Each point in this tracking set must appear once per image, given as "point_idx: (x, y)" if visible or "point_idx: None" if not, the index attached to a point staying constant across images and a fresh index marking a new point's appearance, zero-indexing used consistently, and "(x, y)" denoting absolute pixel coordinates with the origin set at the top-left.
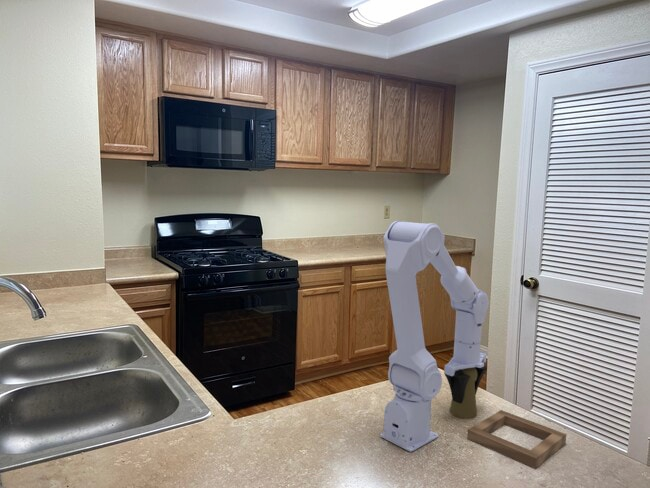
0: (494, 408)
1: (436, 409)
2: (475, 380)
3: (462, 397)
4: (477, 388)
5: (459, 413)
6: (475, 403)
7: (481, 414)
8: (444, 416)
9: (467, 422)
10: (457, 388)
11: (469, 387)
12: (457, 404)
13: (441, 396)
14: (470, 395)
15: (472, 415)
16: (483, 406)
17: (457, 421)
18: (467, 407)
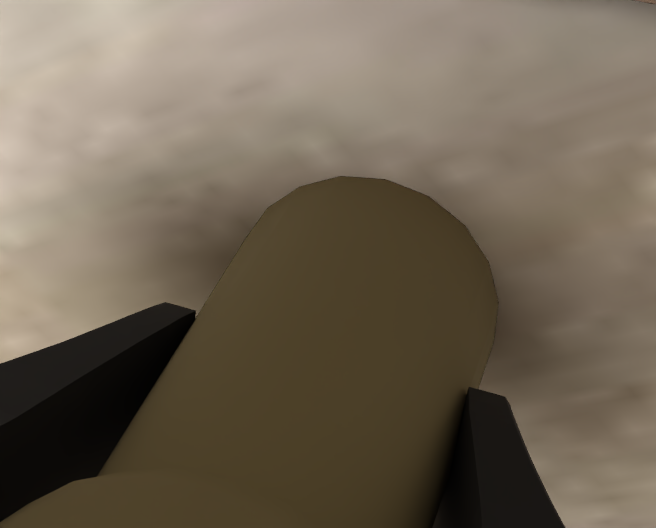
0: (46, 81)
1: None
2: (183, 488)
3: (512, 439)
4: (92, 334)
5: (488, 331)
6: (308, 245)
7: (267, 146)
8: (559, 425)
9: (558, 210)
10: None
11: (349, 470)
12: None
13: None
14: (377, 361)
15: (417, 207)
16: (90, 185)
17: (599, 301)
18: (450, 297)
